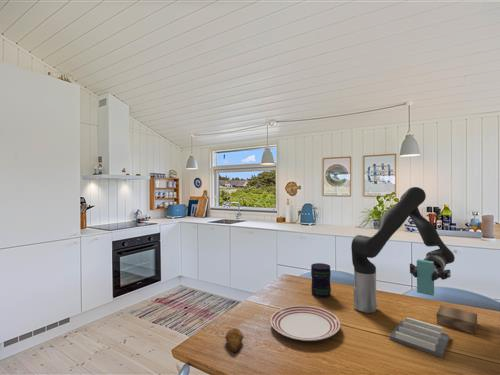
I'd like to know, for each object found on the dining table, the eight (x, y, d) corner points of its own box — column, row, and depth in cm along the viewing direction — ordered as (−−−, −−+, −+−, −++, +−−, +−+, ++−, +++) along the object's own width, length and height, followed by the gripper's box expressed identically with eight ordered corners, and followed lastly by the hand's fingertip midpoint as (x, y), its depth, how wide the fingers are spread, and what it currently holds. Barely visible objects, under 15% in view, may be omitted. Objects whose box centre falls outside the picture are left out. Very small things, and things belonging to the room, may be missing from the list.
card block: (417, 292, 102) (416, 260, 102) (418, 290, 104) (418, 259, 103) (433, 295, 98) (432, 263, 98) (434, 293, 100) (433, 261, 100)
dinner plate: (261, 340, 101) (261, 331, 101) (279, 308, 126) (279, 301, 126) (339, 354, 91) (339, 345, 91) (341, 316, 117) (341, 309, 117)
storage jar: (310, 290, 146) (310, 262, 146) (329, 291, 145) (328, 263, 145) (312, 298, 136) (311, 268, 136) (332, 298, 135) (331, 269, 135)
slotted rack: (389, 339, 99) (389, 330, 99) (401, 323, 110) (401, 315, 110) (442, 357, 88) (442, 347, 88) (449, 337, 99) (449, 329, 99)
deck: (436, 323, 110) (436, 313, 110) (441, 314, 117) (440, 305, 117) (475, 334, 102) (474, 323, 101) (477, 323, 109) (477, 313, 109)
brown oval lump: (226, 333, 106) (225, 320, 106) (243, 332, 106) (243, 319, 106) (224, 354, 92) (223, 340, 92) (243, 354, 92) (243, 339, 92)
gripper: (412, 253, 116) (401, 262, 104) (454, 259, 106) (447, 270, 94) (413, 271, 116) (402, 282, 104) (454, 278, 106) (448, 291, 94)
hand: (423, 276), depth 99 cm, fingers closed on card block, 5 cm apart
